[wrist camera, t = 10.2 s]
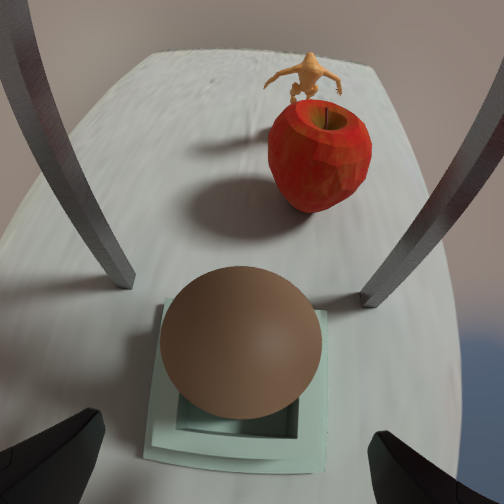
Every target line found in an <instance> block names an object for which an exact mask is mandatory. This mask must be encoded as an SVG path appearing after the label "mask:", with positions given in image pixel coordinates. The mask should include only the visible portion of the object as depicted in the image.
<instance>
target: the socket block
mask: <svg viewBox="0 0 504 504" xmlns="http://www.w3.org/2000/svg"><path fill="white" fill-rule="evenodd" d="M173 300H174V299H173V298H172V299H171V298H166V299H165V304H164V309H163V315H162V320H161V326H160V331H159V337H158V343H157V349H156V355H155V362H154V368H153V375H152V382H151V389H150V397H149V405H148V413H147V422H146V431H145V442H144V453H143V458H146V459H150V460H155V461H160V462H165V463H170V464H175V465H181V466H187V467H194V468H201V469H209V470H218V471H229V472H243V473H267V474H293V473H317V472H325V465H326V448H327V424H328V325H327V310H314V311H315V313H316V315H317V318H318V320H319V324H320V328H321V334H322V353H321V359H320V363H319V366H318V369H317V371H316V373H315V376H314V378H313V380H312V381H311V383H310V384H309V386H308V387H307V389H306V390H305V391H304V392H303V393H302V394H301V395H300V396H299V397H298V398H297V399H296V400H295V401H293V402H292V403H291V404H290V405H288V406H286V407H285V408H283V409H282V410H279V411H277V412H275V413H273V414H270V415H267V416H263V417H260V418H253V419H230V418H224V417H220V416H216V415H213V414H211V413H208V412H206V411H204V410H202V409H200V408H198V407H197V406H195V405H194V404H192V403H191V402H190V401H188V400H187V399H186V398H185V397H184V396H183V395H182V394H181V393H180V392H179V391H178V390H177V389H176V387H175V386H174V384H173V383H172V381H171V380H170V378H169V376H168V374H167V372H166V370H165V367H164V364H163V361H162V356H161V351H160V334H161V328H162V323H163V320H164V317H165V315H166V312H167V310H168V308H169V306H170V304H171V303H172V301H173Z"/></svg>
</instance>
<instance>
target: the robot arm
mask: <svg viewBox="0 0 504 504" xmlns="http://www.w3.org/2000/svg"><path fill="white" fill-rule="evenodd" d="M104 434H105V425H104V421H103V418H102V415H101V412H100V411H99V410H97V409H93V408H86V409H84V410H83V411H81V412H79V413H77V414H75V415H73V416H71V417H70V418H68V419H66V420H64V421H62V422H60V423H58V424H56V425H54V426H52V427H50V428H49V429H47V430H45V431H43V432H41V433H39V434H37V435H35V436H33V437H31V438H29V439H27V440H25V441H23V442H20V443H18V444H16V445H14V446H13V447H10V448H8V449H6V450H3V451H1V452H0V504H79V502H80V500H81V497H82V495H83V492H84V490H85V488H86V485H87V483H88V481H89V478H90V476H91V474H92V472H93V469H94V467H95V464H96V460H97V457H98V454H99V450H100V447H101V444H102V440H103V437H104ZM368 459H369V466H370V472H371V480H372V486H373V491H374V495H375V499H376V502H377V504H499V503H497V502H494V501H493V500H490V499H488V498H486V497H484V496H482V495H480V494H478V493H477V492H475V491H473V490H471V489H470V488H468V487H466V486H465V485H463V484H462V483H460V482H459V481H456V479H454V478H453V477H451V476H450V475H448V474H447V473H446V472H444V471H443V470H441V469H440V468H438V467H437V466H436V465H434V464H433V463H431V462H430V461H428V460H427V459H426V458H424V457H423V456H422V455H420V454H419V453H417V452H416V451H415V450H413V449H412V448H411V447H409V446H408V445H406V444H405V443H404V442H402V441H401V440H400V439H398V438H397V437H396V436H394V435H393V434H392V433H391V432H389V431H387V430H385V431H378V432H376V433H375V434H374V436H373V438H372V440H371V442H370V444H369V446H368Z"/></svg>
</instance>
